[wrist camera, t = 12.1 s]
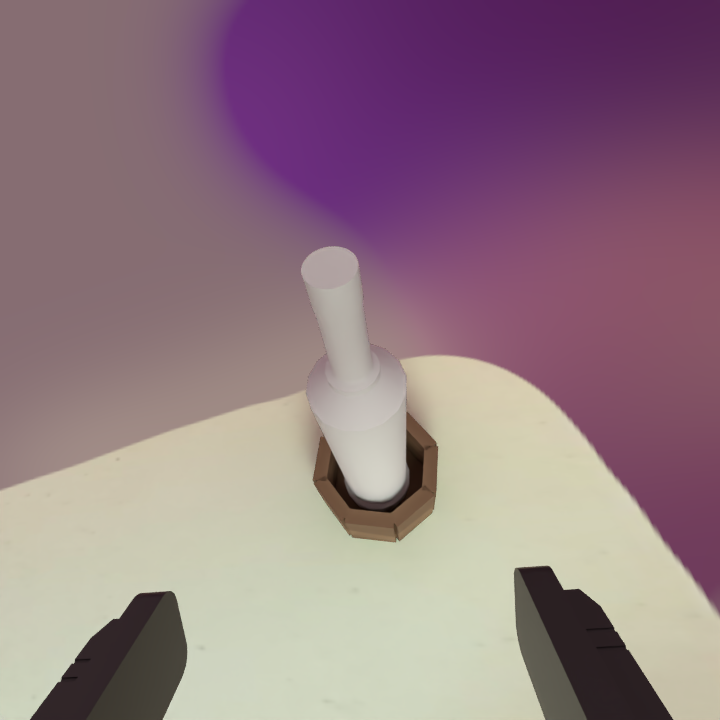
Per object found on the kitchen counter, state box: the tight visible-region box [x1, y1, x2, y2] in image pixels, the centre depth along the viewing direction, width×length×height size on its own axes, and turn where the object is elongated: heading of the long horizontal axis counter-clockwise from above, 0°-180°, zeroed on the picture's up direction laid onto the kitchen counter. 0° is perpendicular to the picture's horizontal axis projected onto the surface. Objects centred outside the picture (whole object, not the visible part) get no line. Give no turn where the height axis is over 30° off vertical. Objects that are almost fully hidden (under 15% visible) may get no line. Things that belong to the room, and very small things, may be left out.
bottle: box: [301, 246, 409, 512], centre depth 26 cm, size 5×5×25 cm
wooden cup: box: [313, 412, 438, 542], centre depth 36 cm, size 9×9×5 cm
